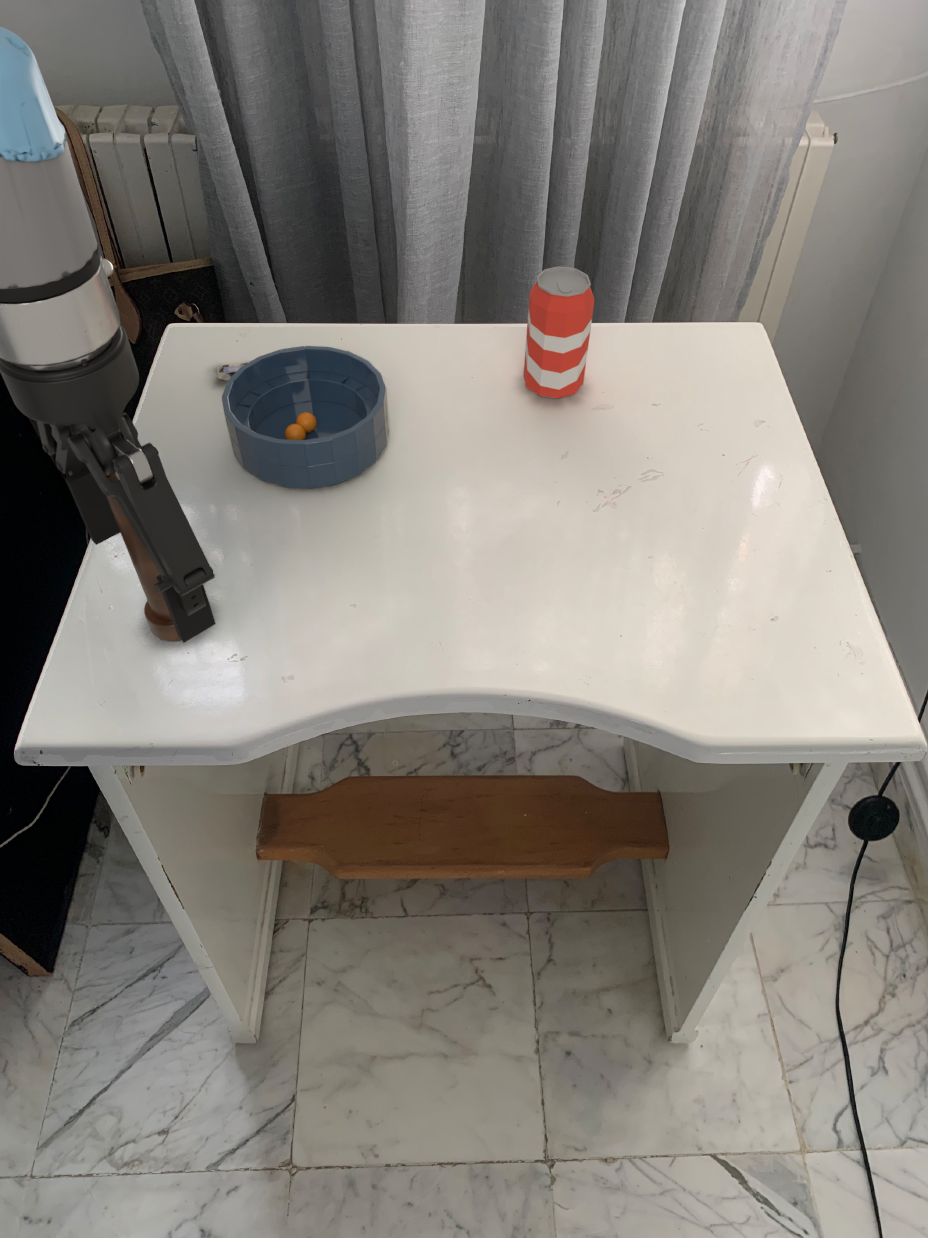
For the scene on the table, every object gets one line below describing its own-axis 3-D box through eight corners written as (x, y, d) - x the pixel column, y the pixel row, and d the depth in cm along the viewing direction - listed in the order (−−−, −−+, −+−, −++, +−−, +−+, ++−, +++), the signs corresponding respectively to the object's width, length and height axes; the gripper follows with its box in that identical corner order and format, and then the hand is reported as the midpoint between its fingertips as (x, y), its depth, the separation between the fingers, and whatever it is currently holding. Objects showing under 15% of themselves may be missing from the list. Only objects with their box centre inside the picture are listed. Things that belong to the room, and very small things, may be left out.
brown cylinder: (139, 632, 73) (80, 494, 61) (170, 594, 75) (119, 456, 64) (185, 648, 72) (134, 512, 60) (215, 610, 74) (171, 472, 63)
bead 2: (304, 404, 87) (291, 416, 86) (320, 414, 87) (308, 426, 86) (304, 418, 89) (291, 430, 88) (320, 428, 89) (308, 440, 88)
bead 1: (290, 422, 85) (309, 432, 85) (290, 418, 87) (309, 427, 87) (281, 440, 85) (300, 450, 86) (281, 436, 87) (299, 445, 88)
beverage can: (528, 404, 93) (537, 299, 83) (520, 369, 97) (527, 264, 87) (586, 402, 93) (601, 296, 84) (575, 366, 97) (588, 261, 88)
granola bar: (280, 364, 97) (278, 356, 96) (281, 376, 95) (280, 368, 95) (217, 371, 96) (215, 363, 95) (217, 383, 94) (215, 375, 94)
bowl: (218, 491, 84) (205, 440, 79) (251, 393, 93) (241, 343, 89) (380, 497, 83) (375, 447, 79) (395, 398, 93) (393, 348, 88)
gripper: (227, 407, 48) (283, 649, 65) (26, 237, 60) (117, 478, 76) (100, 468, 45) (193, 706, 61) (-87, 275, 57) (33, 519, 73)
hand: (151, 580), depth 69 cm, fingers open, 13 cm apart
